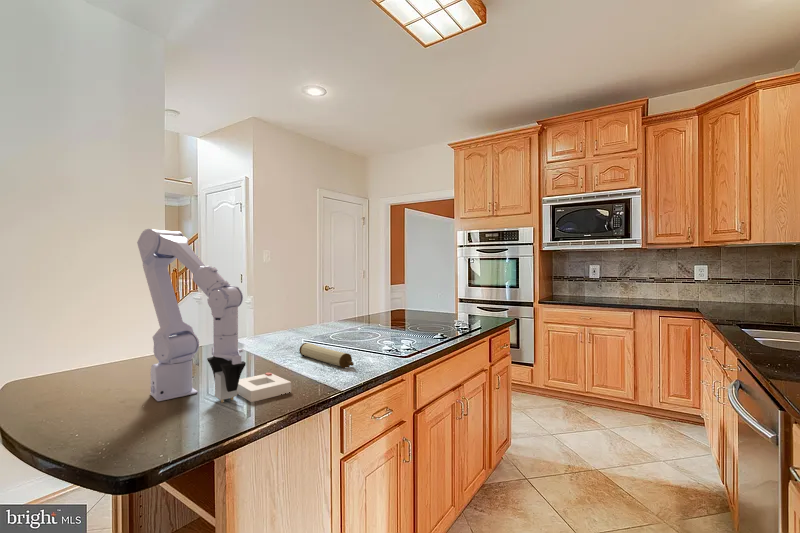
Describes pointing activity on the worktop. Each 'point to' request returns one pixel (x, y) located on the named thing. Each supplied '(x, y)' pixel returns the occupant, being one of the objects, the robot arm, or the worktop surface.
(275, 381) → the socket box
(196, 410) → the worktop surface
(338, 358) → the rolling pin
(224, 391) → the plug
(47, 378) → the worktop surface
